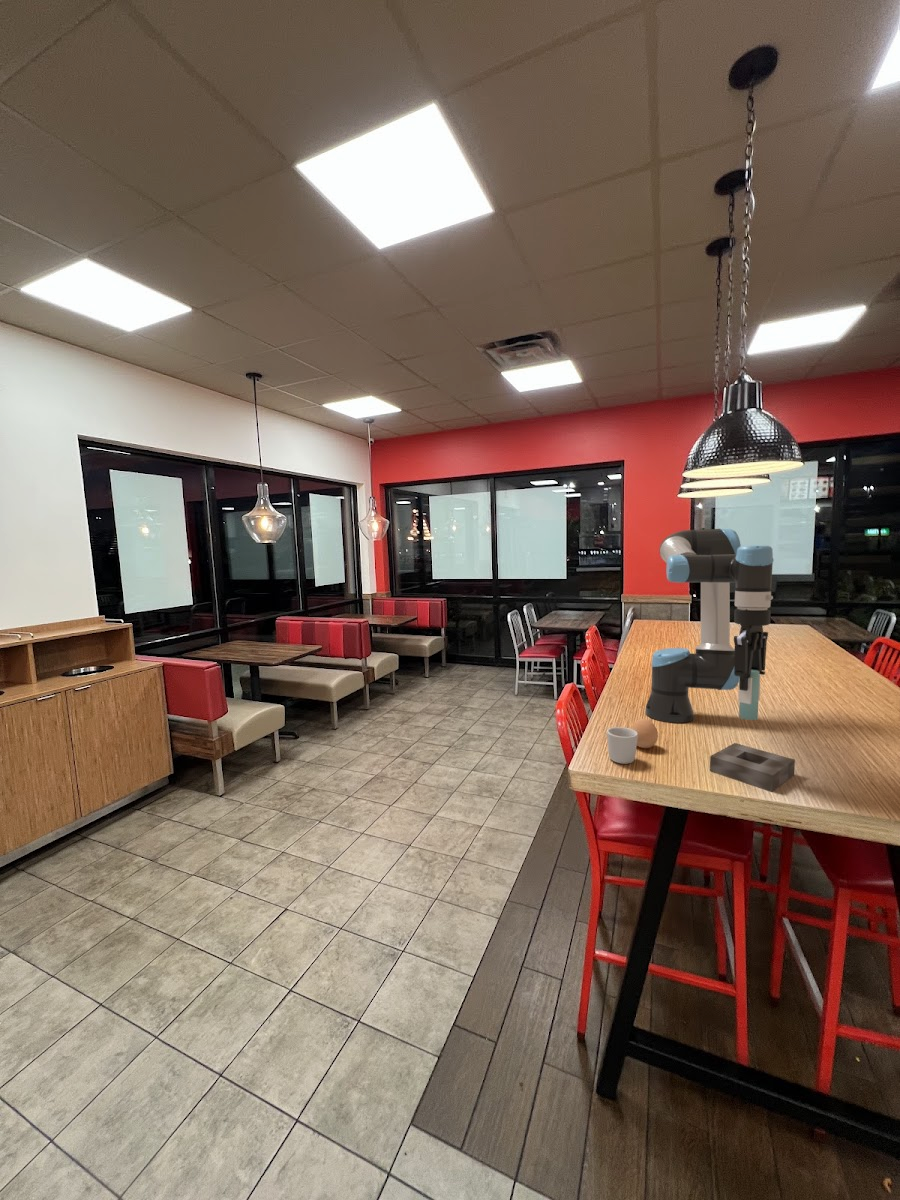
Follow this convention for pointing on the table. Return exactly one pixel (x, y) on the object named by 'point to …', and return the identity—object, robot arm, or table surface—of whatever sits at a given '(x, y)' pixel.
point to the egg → (645, 733)
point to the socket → (752, 766)
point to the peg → (751, 709)
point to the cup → (622, 744)
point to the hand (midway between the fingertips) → (748, 700)
